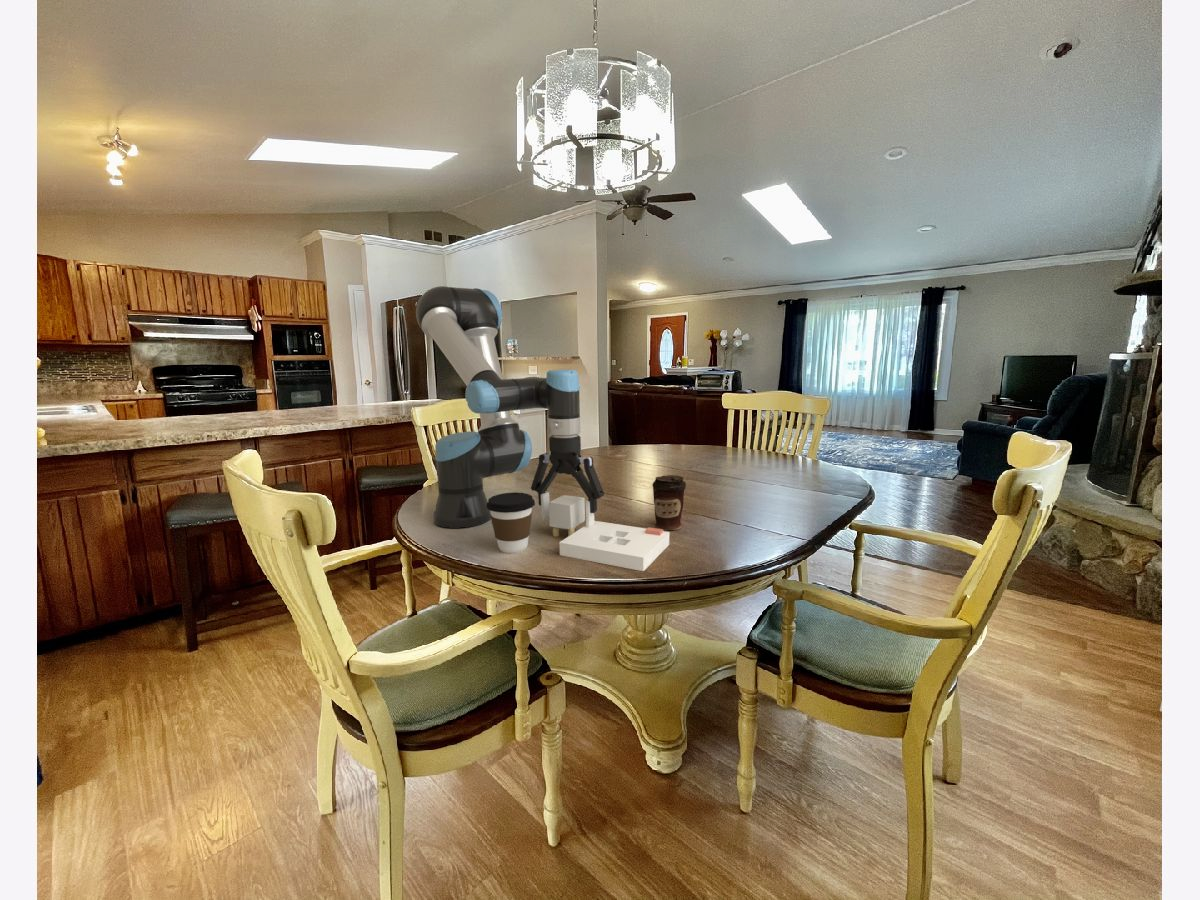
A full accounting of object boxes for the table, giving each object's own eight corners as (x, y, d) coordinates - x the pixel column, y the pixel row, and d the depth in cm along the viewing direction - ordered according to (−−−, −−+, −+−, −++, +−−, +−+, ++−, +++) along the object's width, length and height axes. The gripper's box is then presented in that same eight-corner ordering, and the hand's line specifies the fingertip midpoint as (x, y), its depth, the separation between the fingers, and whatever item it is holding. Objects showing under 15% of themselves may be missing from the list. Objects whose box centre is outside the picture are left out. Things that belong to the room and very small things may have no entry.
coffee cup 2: (684, 534, 122) (685, 482, 120) (650, 532, 124) (650, 481, 121) (685, 522, 131) (686, 474, 128) (654, 520, 132) (654, 473, 130)
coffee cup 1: (495, 539, 121) (492, 491, 119) (540, 539, 121) (538, 491, 118) (483, 557, 110) (480, 505, 108) (532, 557, 110) (530, 505, 108)
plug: (571, 540, 119) (570, 505, 118) (550, 537, 122) (548, 502, 120) (585, 531, 125) (584, 497, 124) (564, 528, 128) (563, 495, 126)
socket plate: (643, 571, 102) (643, 553, 101) (559, 555, 111) (559, 538, 110) (669, 544, 116) (669, 528, 115) (593, 531, 125) (593, 517, 124)
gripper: (513, 434, 121) (518, 519, 125) (603, 440, 110) (604, 533, 114) (531, 430, 128) (535, 511, 132) (617, 435, 117) (618, 523, 121)
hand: (567, 521), depth 123 cm, fingers open, 12 cm apart
